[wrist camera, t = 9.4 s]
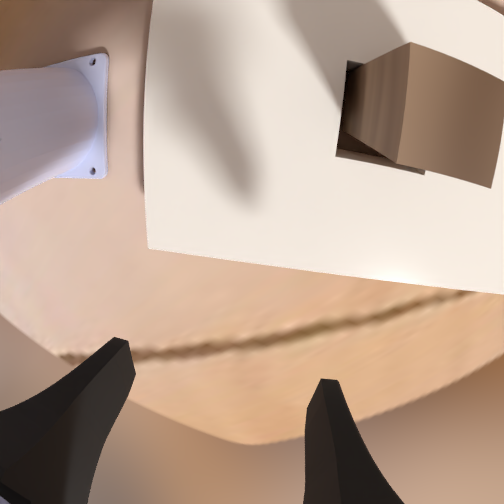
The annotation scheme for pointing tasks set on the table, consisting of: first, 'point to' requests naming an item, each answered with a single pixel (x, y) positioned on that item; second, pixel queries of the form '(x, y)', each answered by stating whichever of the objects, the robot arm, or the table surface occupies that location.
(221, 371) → the table surface
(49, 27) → the table surface
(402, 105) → the walnut peg
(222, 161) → the socket base
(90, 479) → the robot arm
